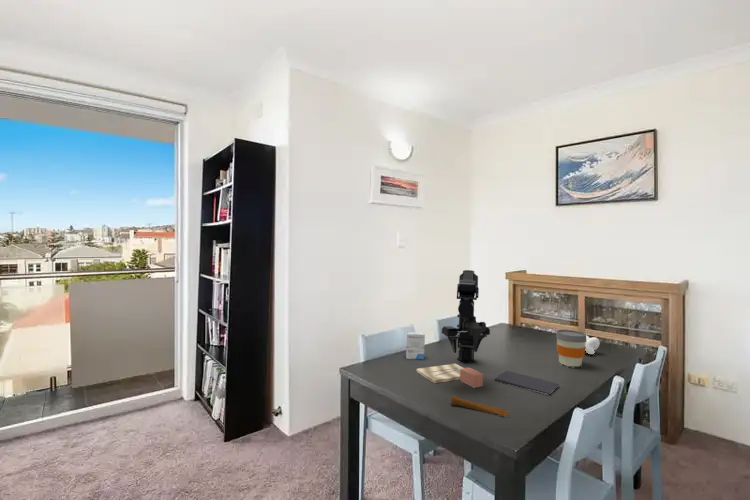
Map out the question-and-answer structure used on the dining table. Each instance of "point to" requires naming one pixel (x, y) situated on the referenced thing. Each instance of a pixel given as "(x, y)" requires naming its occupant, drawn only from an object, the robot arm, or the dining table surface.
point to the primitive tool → (478, 406)
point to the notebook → (526, 382)
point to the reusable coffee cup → (570, 347)
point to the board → (441, 373)
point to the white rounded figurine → (591, 344)
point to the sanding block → (471, 377)
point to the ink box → (415, 345)
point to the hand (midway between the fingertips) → (465, 352)
